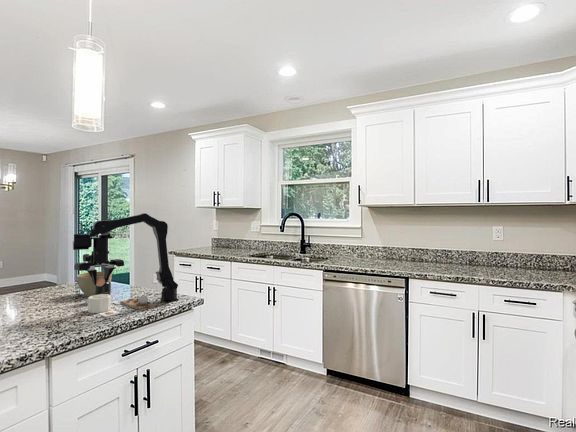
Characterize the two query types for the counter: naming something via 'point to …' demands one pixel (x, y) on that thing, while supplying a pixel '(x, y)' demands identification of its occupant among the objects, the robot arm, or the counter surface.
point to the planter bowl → (88, 283)
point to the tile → (109, 313)
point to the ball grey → (143, 300)
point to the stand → (137, 304)
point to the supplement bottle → (103, 288)
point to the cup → (99, 303)
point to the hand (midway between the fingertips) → (100, 284)
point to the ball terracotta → (100, 281)
